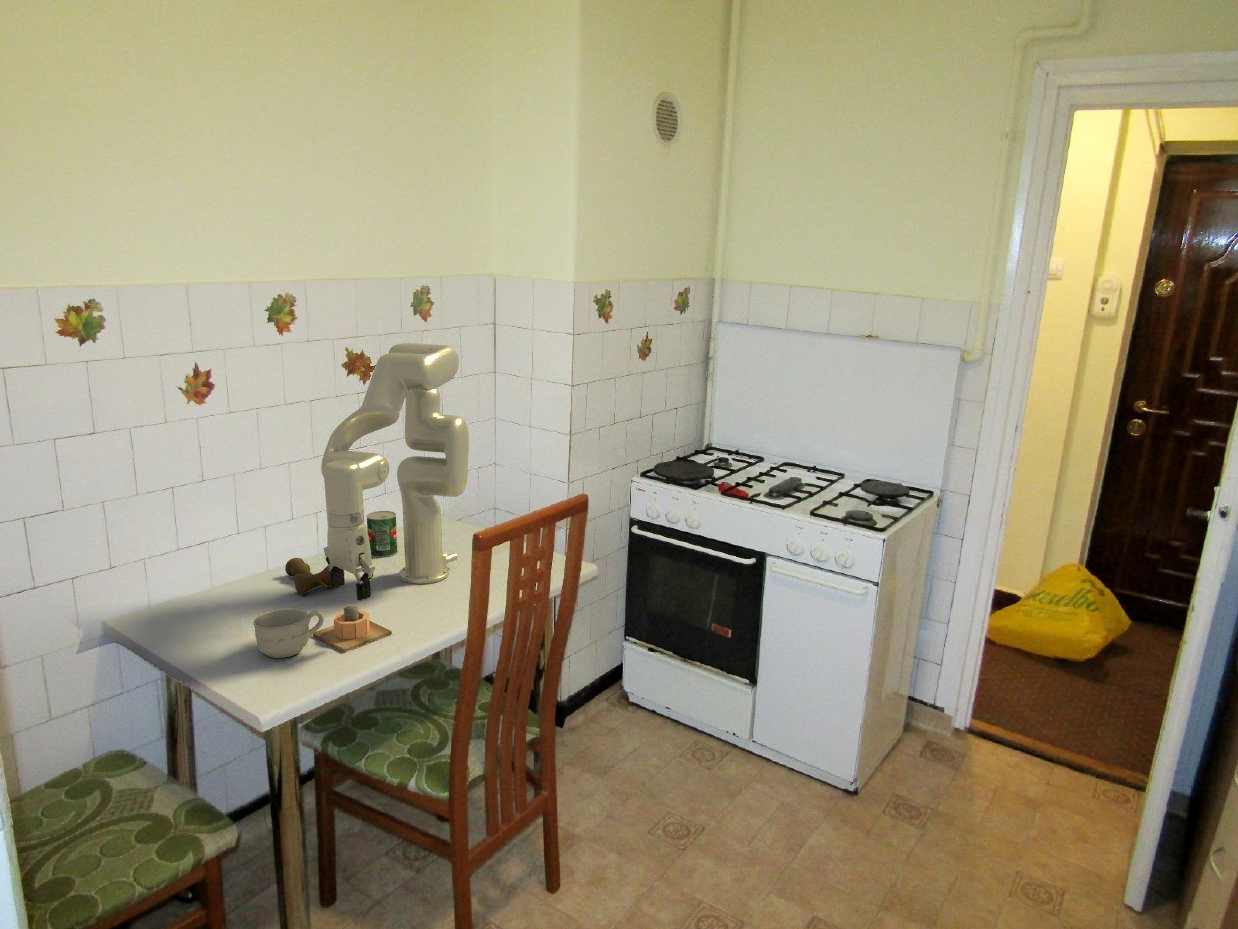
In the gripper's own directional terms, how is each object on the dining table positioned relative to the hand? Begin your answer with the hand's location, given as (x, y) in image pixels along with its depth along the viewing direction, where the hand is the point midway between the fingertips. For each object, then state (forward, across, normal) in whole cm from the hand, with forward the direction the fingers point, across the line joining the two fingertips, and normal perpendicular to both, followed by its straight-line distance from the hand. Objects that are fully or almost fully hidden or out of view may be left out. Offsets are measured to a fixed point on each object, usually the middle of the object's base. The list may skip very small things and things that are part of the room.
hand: (350, 592), depth 192 cm
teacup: (+10, +3, +13) cm, 17 cm away
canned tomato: (+11, +39, -36) cm, 54 cm away
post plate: (+10, 0, 0) cm, 10 cm away
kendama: (+11, +32, -9) cm, 35 cm away
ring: (+9, 0, 0) cm, 9 cm away
